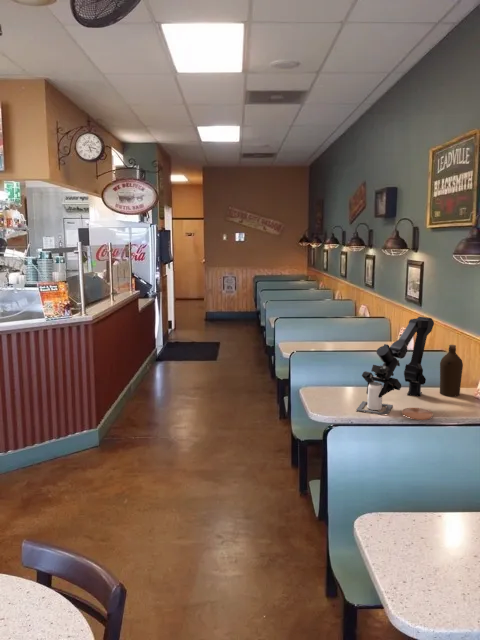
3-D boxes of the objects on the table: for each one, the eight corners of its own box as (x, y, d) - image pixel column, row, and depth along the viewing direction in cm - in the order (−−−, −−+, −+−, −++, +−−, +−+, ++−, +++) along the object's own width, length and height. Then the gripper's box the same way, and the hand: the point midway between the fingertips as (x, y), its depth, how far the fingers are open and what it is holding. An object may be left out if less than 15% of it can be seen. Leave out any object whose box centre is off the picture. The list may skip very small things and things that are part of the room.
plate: (404, 408, 250) (404, 406, 250) (433, 412, 245) (434, 409, 245) (399, 417, 239) (399, 414, 238) (430, 421, 233) (431, 418, 233)
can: (382, 411, 247) (383, 385, 245) (367, 410, 248) (368, 385, 246) (381, 406, 253) (382, 382, 251) (367, 405, 254) (368, 381, 252)
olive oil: (464, 397, 266) (467, 347, 262) (442, 396, 267) (444, 347, 263) (456, 390, 277) (459, 343, 273) (435, 390, 278) (438, 342, 273)
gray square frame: (362, 402, 260) (362, 401, 260) (392, 406, 254) (392, 404, 254) (356, 411, 247) (356, 409, 247) (387, 415, 241) (387, 414, 241)
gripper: (364, 354, 256) (349, 381, 251) (398, 361, 242) (383, 390, 237) (374, 368, 262) (359, 394, 257) (408, 375, 248) (393, 403, 243)
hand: (373, 395), depth 249 cm, fingers closed on can, 6 cm apart
